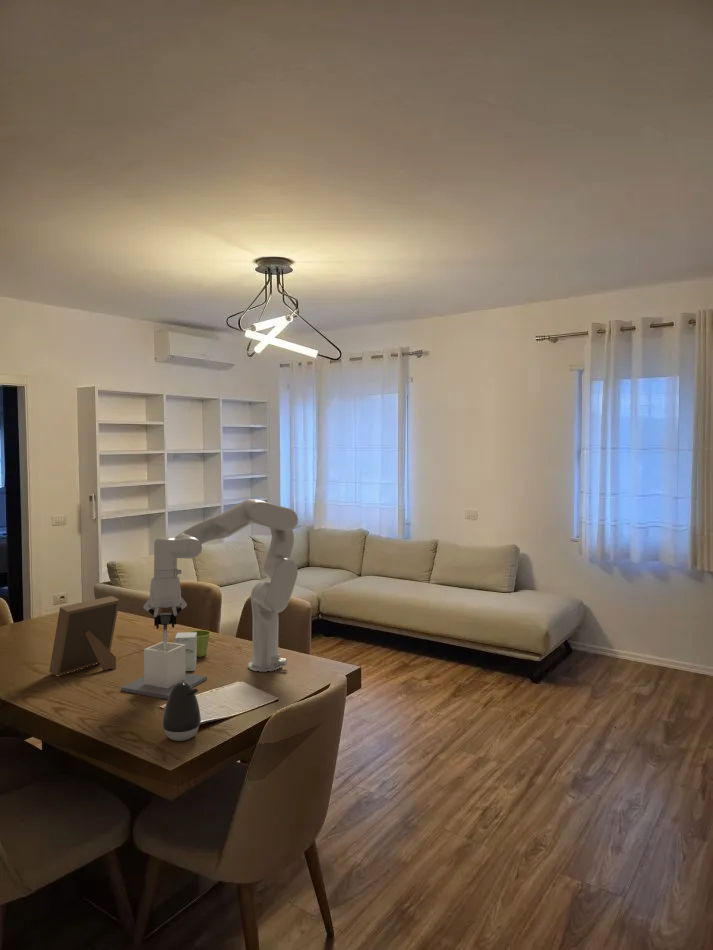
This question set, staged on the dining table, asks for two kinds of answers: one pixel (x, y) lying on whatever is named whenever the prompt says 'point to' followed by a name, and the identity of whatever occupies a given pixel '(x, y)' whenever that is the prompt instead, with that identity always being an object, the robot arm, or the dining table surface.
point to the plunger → (165, 626)
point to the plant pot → (202, 642)
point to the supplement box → (188, 648)
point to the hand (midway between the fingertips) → (165, 626)
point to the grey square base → (163, 671)
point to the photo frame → (85, 636)
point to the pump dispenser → (181, 713)
